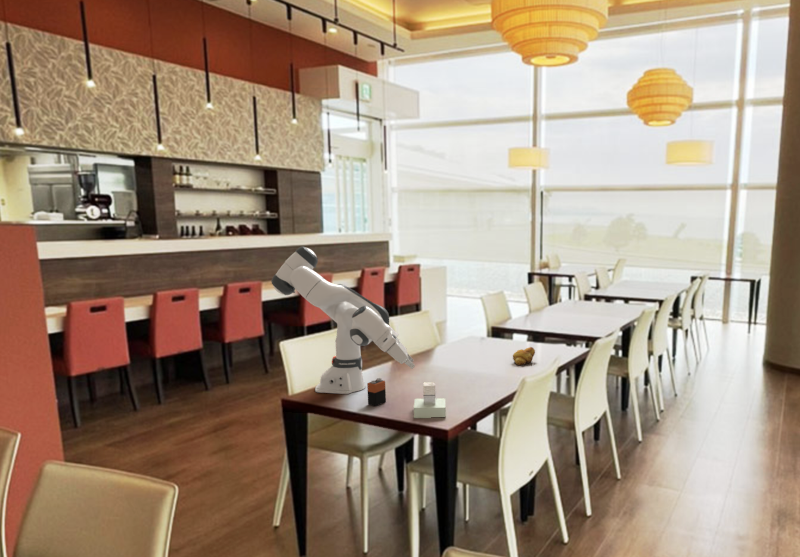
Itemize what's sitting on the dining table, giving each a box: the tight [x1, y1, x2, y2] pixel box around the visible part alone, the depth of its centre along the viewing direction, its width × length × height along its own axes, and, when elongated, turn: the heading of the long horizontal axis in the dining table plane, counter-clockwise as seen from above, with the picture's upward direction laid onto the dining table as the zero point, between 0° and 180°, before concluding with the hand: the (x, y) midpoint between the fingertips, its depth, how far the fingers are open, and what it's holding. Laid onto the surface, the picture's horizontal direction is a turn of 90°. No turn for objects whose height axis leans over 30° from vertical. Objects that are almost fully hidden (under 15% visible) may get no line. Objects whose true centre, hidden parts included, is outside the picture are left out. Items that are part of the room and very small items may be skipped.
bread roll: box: [512, 346, 536, 366], centre depth 284 cm, size 13×10×8 cm
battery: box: [366, 377, 387, 407], centre depth 227 cm, size 4×7×10 cm, turn 140°
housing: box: [422, 381, 437, 405], centre depth 213 cm, size 5×5×8 cm
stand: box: [413, 397, 447, 419], centre depth 213 cm, size 12×11×4 cm
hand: (412, 364), depth 213 cm, fingers open, 8 cm apart
